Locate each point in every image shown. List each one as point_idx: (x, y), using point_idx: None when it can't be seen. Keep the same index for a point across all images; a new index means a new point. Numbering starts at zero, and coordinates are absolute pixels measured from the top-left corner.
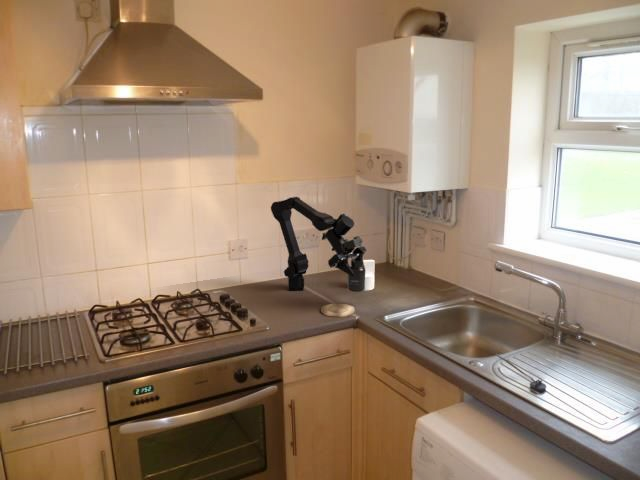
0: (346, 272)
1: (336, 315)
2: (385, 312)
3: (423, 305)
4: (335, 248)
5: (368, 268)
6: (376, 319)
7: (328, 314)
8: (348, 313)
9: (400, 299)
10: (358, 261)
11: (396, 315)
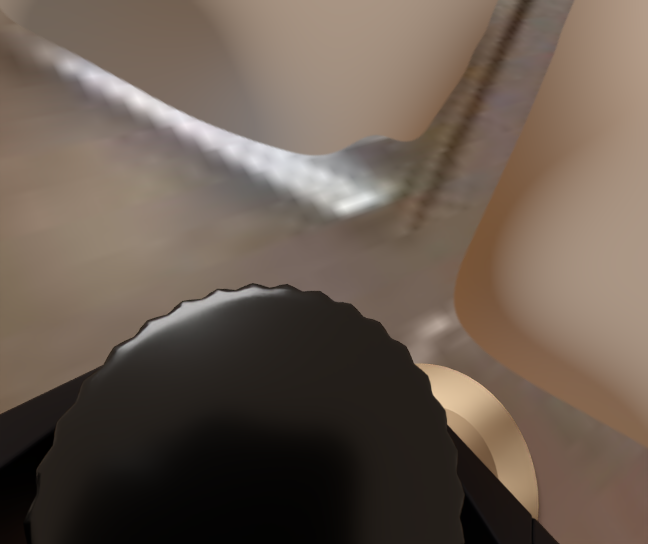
0: None
1: (515, 426)
2: (297, 227)
3: (110, 106)
4: None
5: None
6: (406, 231)
7: (534, 483)
8: (453, 376)
9: (44, 225)
10: (357, 376)
11: (308, 172)
